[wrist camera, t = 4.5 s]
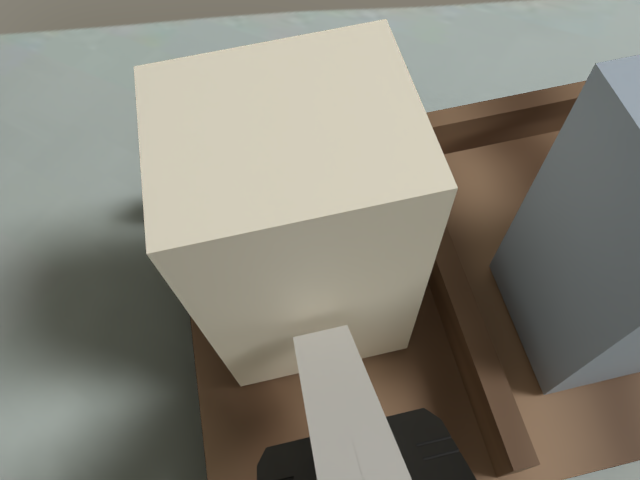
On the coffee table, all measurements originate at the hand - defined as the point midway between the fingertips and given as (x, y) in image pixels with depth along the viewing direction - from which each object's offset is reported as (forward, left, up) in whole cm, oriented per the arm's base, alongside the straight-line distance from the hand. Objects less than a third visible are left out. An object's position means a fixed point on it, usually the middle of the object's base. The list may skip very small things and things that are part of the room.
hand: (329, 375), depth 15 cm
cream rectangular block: (-3, +2, -4) cm, 6 cm away
